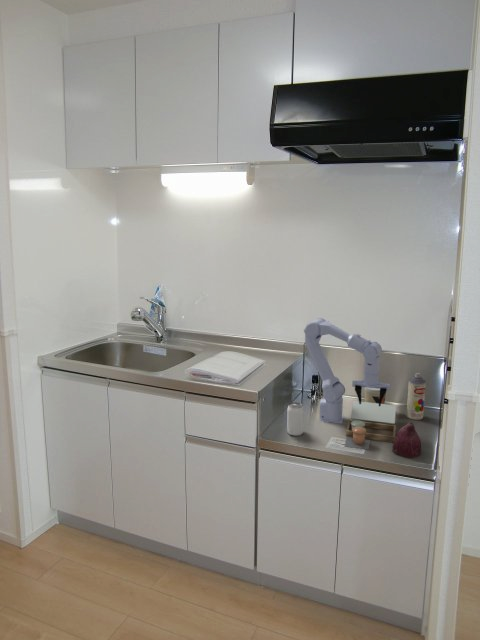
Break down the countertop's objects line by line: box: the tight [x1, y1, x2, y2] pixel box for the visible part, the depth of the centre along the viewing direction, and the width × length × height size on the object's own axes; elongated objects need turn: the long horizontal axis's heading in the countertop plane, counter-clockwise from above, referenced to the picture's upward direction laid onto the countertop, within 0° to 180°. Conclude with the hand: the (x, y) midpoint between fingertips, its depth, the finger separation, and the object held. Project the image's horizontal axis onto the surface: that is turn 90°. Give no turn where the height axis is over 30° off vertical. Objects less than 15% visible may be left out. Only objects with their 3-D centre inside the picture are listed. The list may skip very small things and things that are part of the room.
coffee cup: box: [363, 387, 386, 404], centre depth 219 cm, size 9×9×12 cm
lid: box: [350, 400, 397, 425], centre depth 208 cm, size 18×10×1 cm, turn 71°
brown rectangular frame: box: [345, 419, 397, 443], centre depth 203 cm, size 19×20×5 cm
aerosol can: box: [406, 372, 427, 421], centre depth 212 cm, size 7×7×20 cm
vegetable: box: [392, 421, 422, 459], centre depth 182 cm, size 10×10×15 cm
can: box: [286, 401, 305, 437], centre depth 200 cm, size 6×6×12 cm
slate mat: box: [344, 436, 371, 451], centre depth 191 cm, size 9×8×1 cm
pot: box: [352, 426, 366, 445], centre depth 191 cm, size 5×5×6 cm
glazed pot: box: [351, 420, 365, 428], centre depth 199 cm, size 5×5×4 cm
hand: (369, 404), depth 203 cm, fingers open, 7 cm apart
